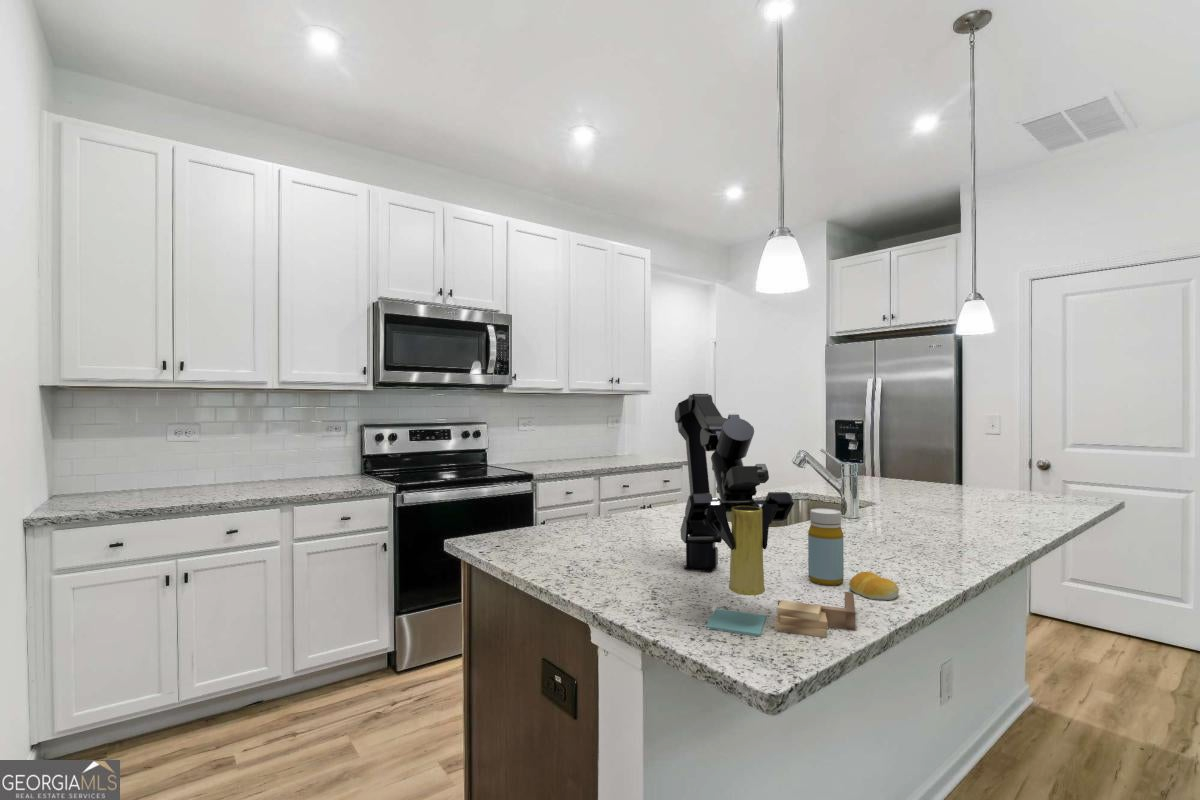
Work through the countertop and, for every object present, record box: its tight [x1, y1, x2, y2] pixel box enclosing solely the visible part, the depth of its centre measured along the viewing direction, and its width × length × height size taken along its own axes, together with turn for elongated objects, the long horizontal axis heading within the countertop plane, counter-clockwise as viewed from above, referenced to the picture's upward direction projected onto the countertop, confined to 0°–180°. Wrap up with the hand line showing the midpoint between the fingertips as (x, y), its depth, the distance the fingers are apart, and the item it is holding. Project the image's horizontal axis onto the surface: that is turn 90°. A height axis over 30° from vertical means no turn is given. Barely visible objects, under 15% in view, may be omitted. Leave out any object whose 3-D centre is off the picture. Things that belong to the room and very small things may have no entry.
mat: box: [705, 608, 767, 637], centre depth 101 cm, size 9×9×1 cm
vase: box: [728, 505, 766, 596], centre depth 101 cm, size 6×6×14 cm
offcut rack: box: [774, 591, 856, 638], centre depth 102 cm, size 12×16×4 cm
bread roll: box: [848, 571, 899, 601], centre depth 116 cm, size 8×9×4 cm
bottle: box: [807, 507, 845, 586], centre depth 124 cm, size 7×7×15 cm
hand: (749, 548), depth 100 cm, fingers closed on vase, 5 cm apart
